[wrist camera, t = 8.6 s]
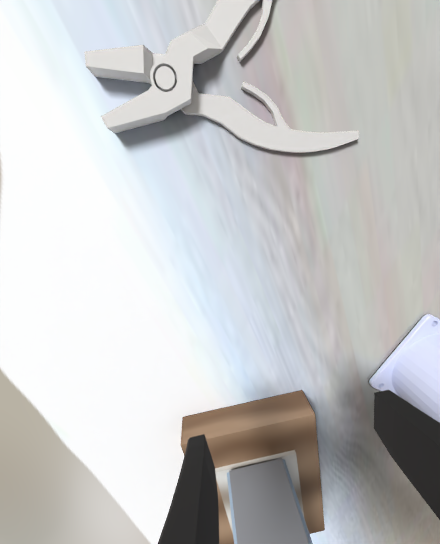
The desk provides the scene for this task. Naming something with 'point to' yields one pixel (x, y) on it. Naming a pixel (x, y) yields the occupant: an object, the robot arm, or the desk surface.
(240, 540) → the block
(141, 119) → the pliers
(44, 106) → the desk surface
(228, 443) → the stand
